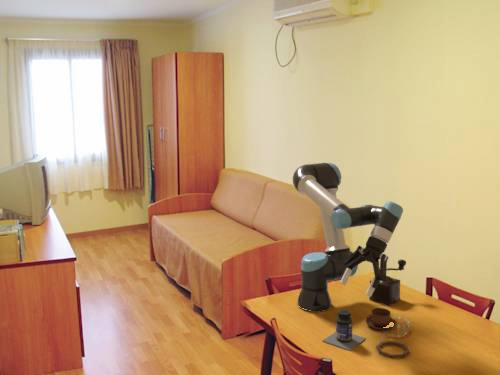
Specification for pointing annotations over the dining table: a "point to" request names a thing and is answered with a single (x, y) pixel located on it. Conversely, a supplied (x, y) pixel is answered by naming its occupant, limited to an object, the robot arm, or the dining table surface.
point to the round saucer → (392, 354)
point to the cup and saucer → (379, 319)
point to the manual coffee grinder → (388, 288)
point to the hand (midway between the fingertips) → (354, 289)
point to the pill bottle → (344, 326)
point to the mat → (345, 345)
